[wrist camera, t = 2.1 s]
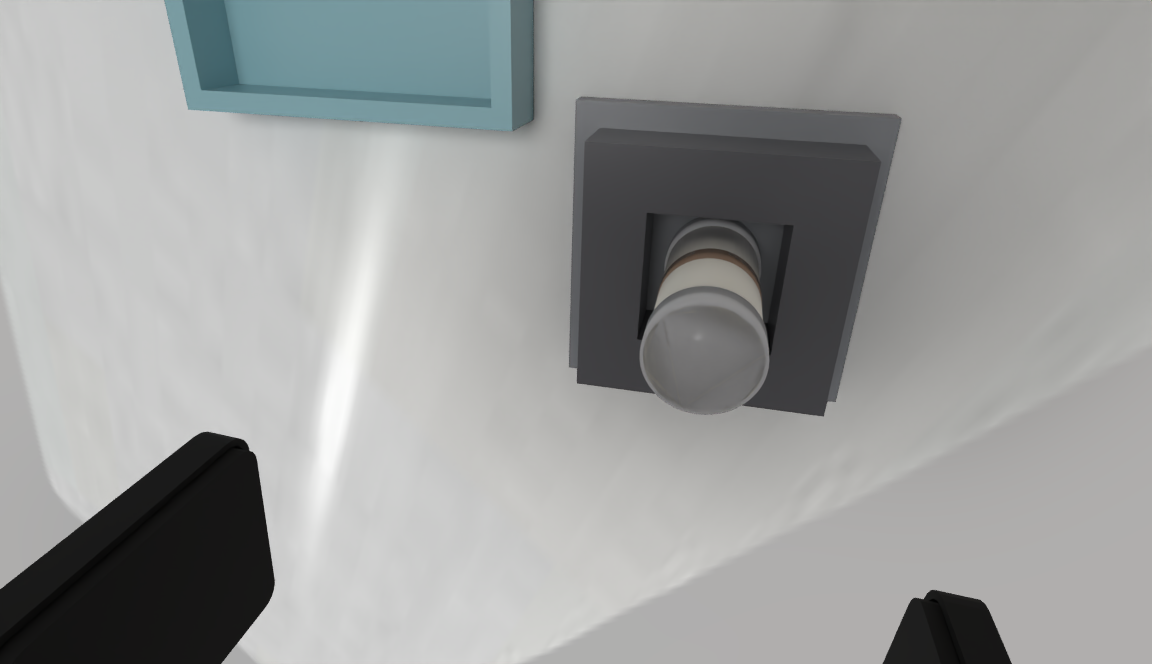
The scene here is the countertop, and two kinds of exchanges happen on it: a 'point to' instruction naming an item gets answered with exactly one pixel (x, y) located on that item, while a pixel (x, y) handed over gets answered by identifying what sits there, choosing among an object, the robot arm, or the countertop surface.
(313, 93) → the parts tray
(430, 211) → the countertop surface
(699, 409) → the fuse
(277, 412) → the countertop surface
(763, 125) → the fuse panel
